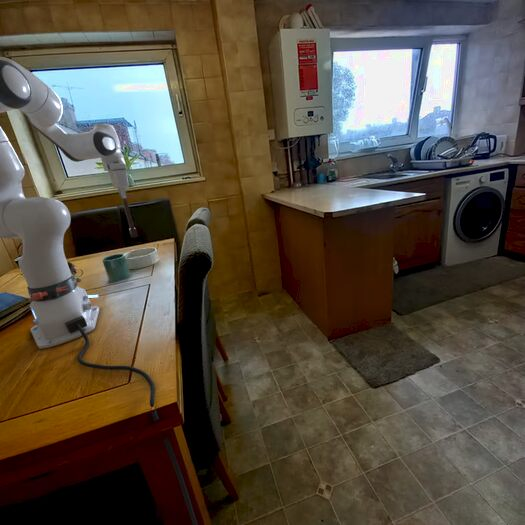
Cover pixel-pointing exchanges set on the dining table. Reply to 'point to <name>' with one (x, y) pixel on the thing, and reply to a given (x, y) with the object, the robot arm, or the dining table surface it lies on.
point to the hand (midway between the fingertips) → (123, 198)
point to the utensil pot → (116, 267)
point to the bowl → (141, 257)
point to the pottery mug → (71, 267)
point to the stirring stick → (129, 218)
